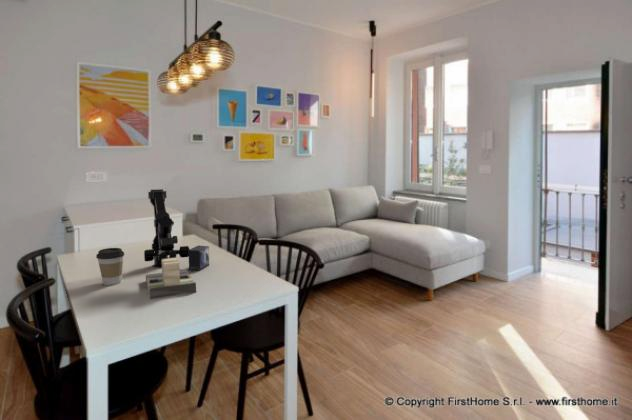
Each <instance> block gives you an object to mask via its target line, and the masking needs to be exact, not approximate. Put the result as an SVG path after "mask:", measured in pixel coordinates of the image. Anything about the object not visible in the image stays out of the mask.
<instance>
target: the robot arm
mask: <svg viewBox="0 0 632 420" xmlns="http://www.w3.org/2000/svg"><path fill="white" fill-rule="evenodd" d="M147 194H148V195H147V198H148V200H149V203H150V204H151V206H152V207H153V215H154V219H153V226H154V229H155V230H154V231H155V235H154V237H153V240H152V243H151V248H149V249H145V250H144V252H143V256H144V257H143V258H144V262H153V263H154V264H152V267H156V268H162V259H166V258H175V257H176V258H177V255H178V256H179V257H180V259H181V258H182V259H183V258H189V252H190V249H191V248H190V246H188V245H182V246H179V249H174V248H175V244H178V242H179V239H178V236H177V235H173V236H172V230H173V229H172V228H173V226H174V225H175V222H174V221H173V219H172V218H171V216H170V214H169V213H168V212H167V210H166V203H165V202H166V199H167V198H168V197H167V190H165V191H164V189H163V188H162V189H160V188H159V189H157V188H156V189H150V191H147Z"/></svg>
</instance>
